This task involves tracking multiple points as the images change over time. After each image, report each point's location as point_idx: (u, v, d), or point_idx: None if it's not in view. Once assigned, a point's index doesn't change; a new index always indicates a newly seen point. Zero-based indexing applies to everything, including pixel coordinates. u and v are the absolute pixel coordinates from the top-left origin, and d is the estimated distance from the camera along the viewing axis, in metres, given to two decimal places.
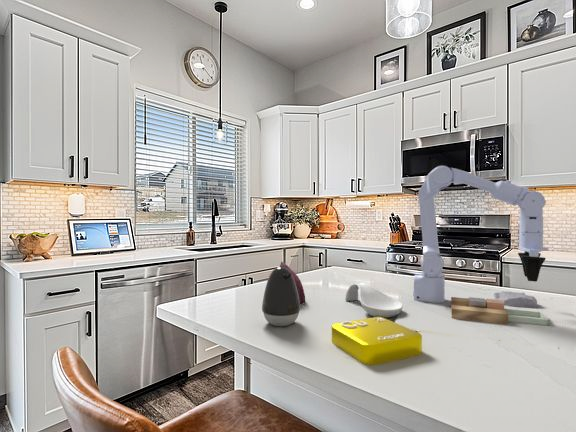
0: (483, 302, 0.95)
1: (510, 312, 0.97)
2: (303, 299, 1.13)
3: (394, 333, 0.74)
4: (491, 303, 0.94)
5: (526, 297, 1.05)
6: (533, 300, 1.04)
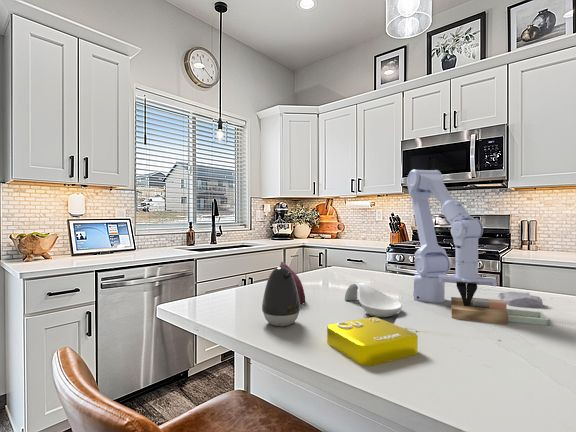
0: (486, 302, 0.95)
1: (510, 312, 0.97)
2: (303, 299, 1.13)
3: (390, 333, 0.74)
4: (493, 303, 0.94)
5: (531, 297, 1.05)
6: (538, 300, 1.04)
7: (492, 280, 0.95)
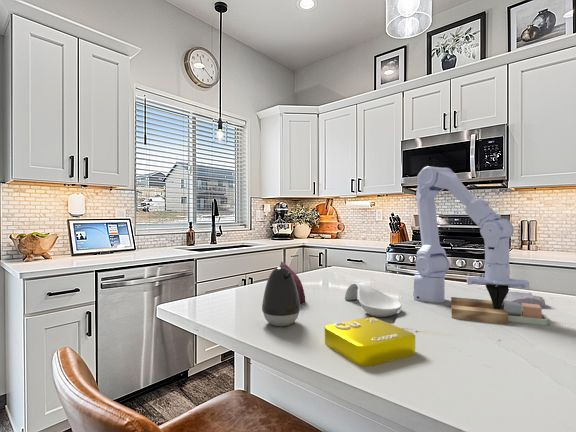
0: (519, 306, 0.92)
1: None
2: (303, 299, 1.13)
3: (388, 334, 0.74)
4: (527, 307, 0.91)
5: (534, 297, 1.05)
6: (541, 300, 1.04)
7: (524, 282, 0.92)
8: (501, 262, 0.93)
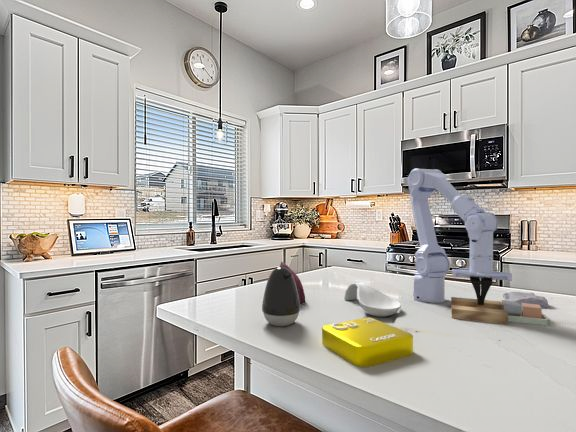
0: (519, 306, 0.92)
1: None
2: (303, 299, 1.13)
3: (386, 334, 0.74)
4: (527, 307, 0.91)
5: (537, 298, 1.04)
6: (544, 300, 1.04)
7: (507, 274, 0.94)
8: (483, 255, 0.94)
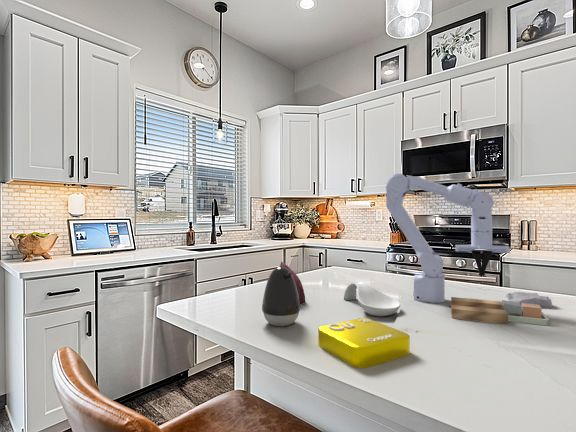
0: (519, 306, 0.92)
1: None
2: (303, 299, 1.13)
3: (382, 334, 0.73)
4: (527, 307, 0.91)
5: (541, 298, 1.04)
6: (548, 301, 1.03)
7: (505, 247, 1.04)
8: (490, 230, 1.05)
